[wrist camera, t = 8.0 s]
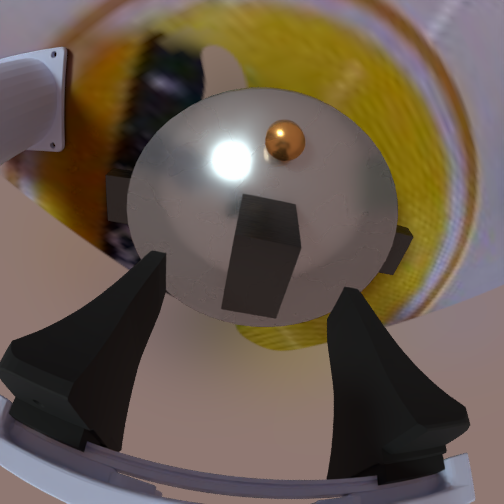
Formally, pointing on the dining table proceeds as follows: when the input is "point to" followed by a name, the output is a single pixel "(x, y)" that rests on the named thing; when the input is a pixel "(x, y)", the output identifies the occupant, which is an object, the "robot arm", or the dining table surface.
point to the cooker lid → (263, 206)
